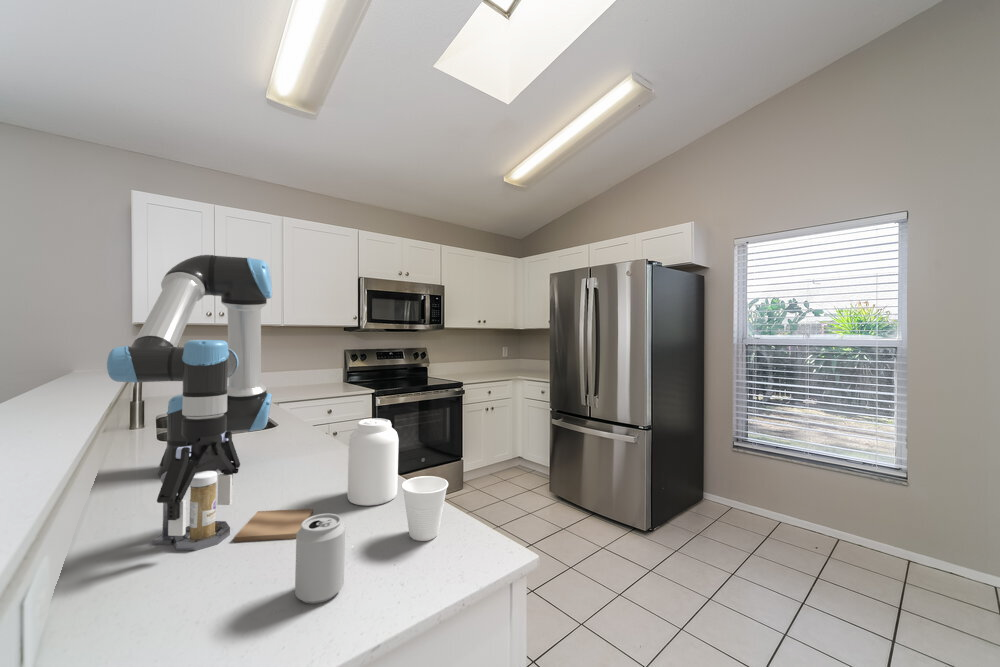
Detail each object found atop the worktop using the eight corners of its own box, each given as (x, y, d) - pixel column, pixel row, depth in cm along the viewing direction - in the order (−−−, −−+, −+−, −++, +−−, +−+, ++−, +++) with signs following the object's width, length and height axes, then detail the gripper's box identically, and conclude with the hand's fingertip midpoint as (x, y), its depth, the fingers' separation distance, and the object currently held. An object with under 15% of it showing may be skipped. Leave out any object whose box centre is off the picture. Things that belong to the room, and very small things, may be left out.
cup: (454, 528, 91) (456, 479, 91) (433, 551, 82) (434, 496, 82) (415, 520, 95) (416, 473, 95) (390, 541, 85) (392, 488, 85)
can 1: (305, 579, 72) (307, 510, 72) (349, 577, 72) (350, 510, 72) (286, 607, 64) (288, 531, 64) (335, 606, 65) (337, 531, 65)
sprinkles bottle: (215, 540, 84) (216, 475, 83) (187, 547, 81) (188, 479, 81) (216, 531, 87) (217, 468, 87) (189, 536, 85) (190, 472, 85)
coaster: (257, 515, 95) (257, 511, 95) (312, 512, 97) (312, 508, 97) (234, 542, 83) (234, 537, 83) (297, 538, 85) (297, 533, 85)
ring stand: (178, 527, 89) (179, 463, 88) (237, 528, 89) (239, 465, 89) (142, 549, 80) (143, 478, 80) (208, 551, 80) (210, 480, 80)
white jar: (350, 510, 99) (352, 428, 99) (344, 491, 110) (346, 417, 110) (402, 501, 105) (404, 423, 105) (391, 484, 116) (393, 414, 116)
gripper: (226, 403, 96) (224, 493, 97) (132, 429, 71) (129, 550, 72) (258, 404, 97) (256, 494, 97) (175, 430, 72) (173, 551, 72)
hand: (202, 518), depth 84 cm, fingers open, 13 cm apart
